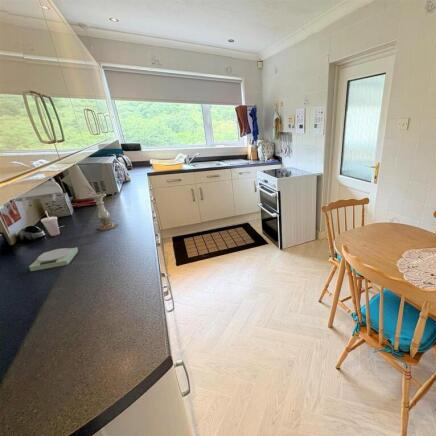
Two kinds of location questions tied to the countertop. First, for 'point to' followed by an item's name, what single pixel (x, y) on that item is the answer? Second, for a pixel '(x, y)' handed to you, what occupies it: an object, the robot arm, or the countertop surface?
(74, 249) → the scale
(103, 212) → the candle holder
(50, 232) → the smoothie
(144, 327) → the countertop surface
